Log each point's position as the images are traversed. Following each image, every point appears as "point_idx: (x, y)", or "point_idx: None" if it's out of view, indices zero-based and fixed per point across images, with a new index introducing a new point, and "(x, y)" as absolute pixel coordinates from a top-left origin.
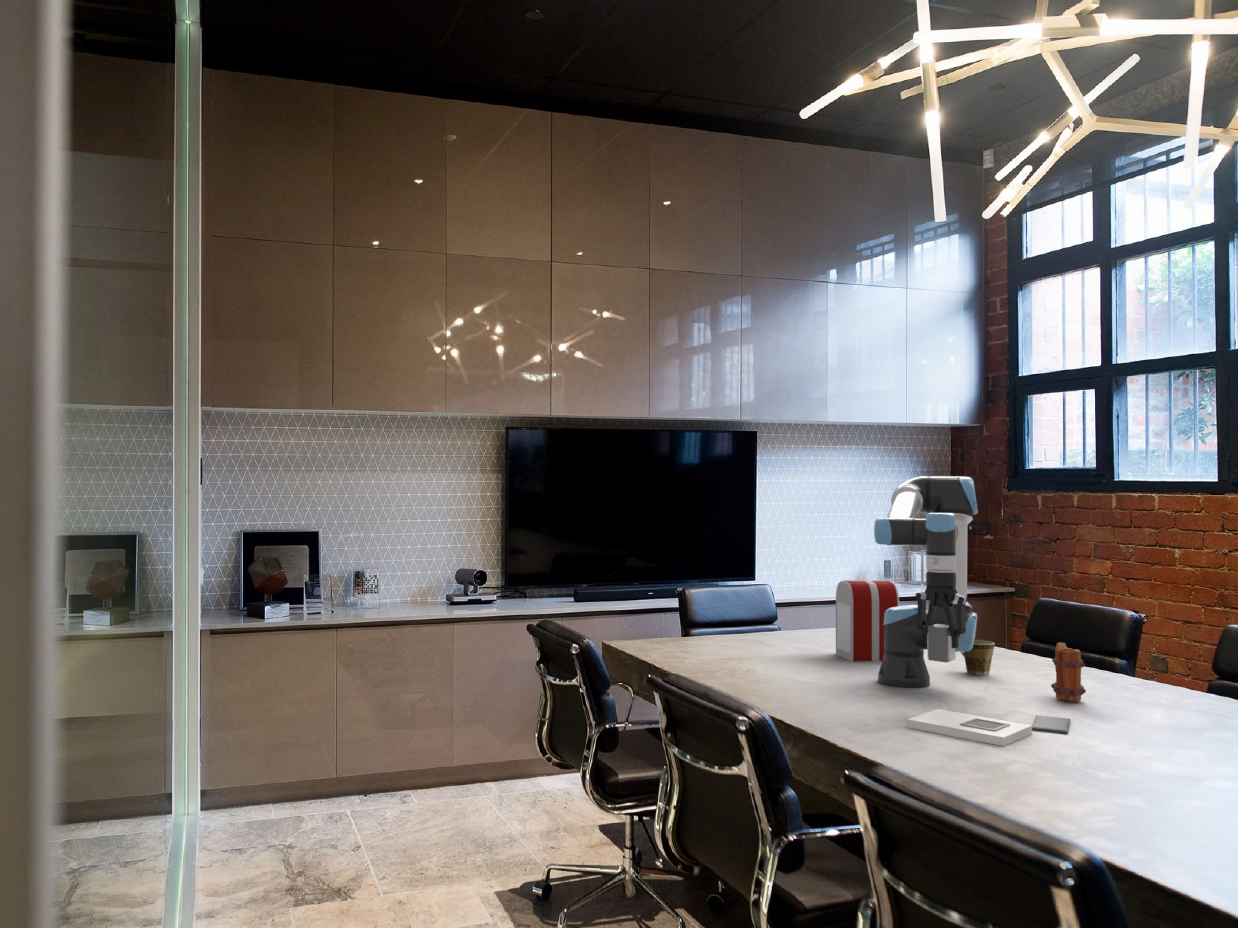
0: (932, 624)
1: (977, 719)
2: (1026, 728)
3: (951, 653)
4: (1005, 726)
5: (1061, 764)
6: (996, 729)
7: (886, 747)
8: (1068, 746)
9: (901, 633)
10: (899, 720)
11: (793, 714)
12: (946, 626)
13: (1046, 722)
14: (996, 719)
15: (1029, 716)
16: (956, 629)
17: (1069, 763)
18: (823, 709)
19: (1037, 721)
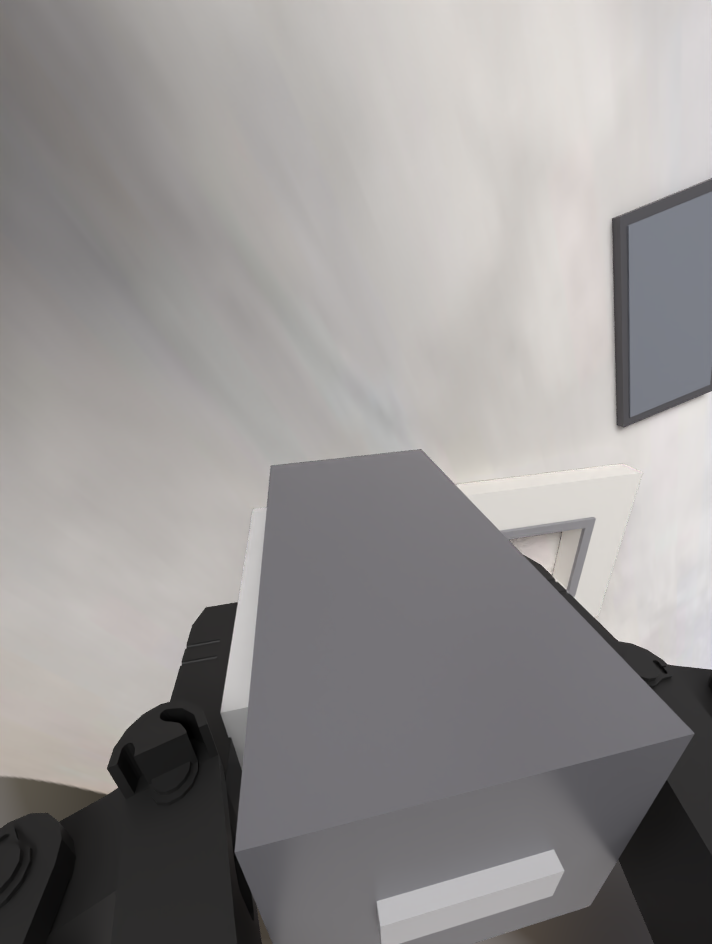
0: (247, 942)
1: (510, 538)
2: (630, 505)
3: None
4: (587, 544)
5: (683, 616)
6: (576, 587)
7: None
8: (700, 501)
9: None
10: None
11: (88, 761)
12: (559, 851)
13: (659, 325)
14: (548, 487)
15: (589, 223)
16: (689, 749)
17: (696, 602)
18: (72, 683)
19: (633, 335)
